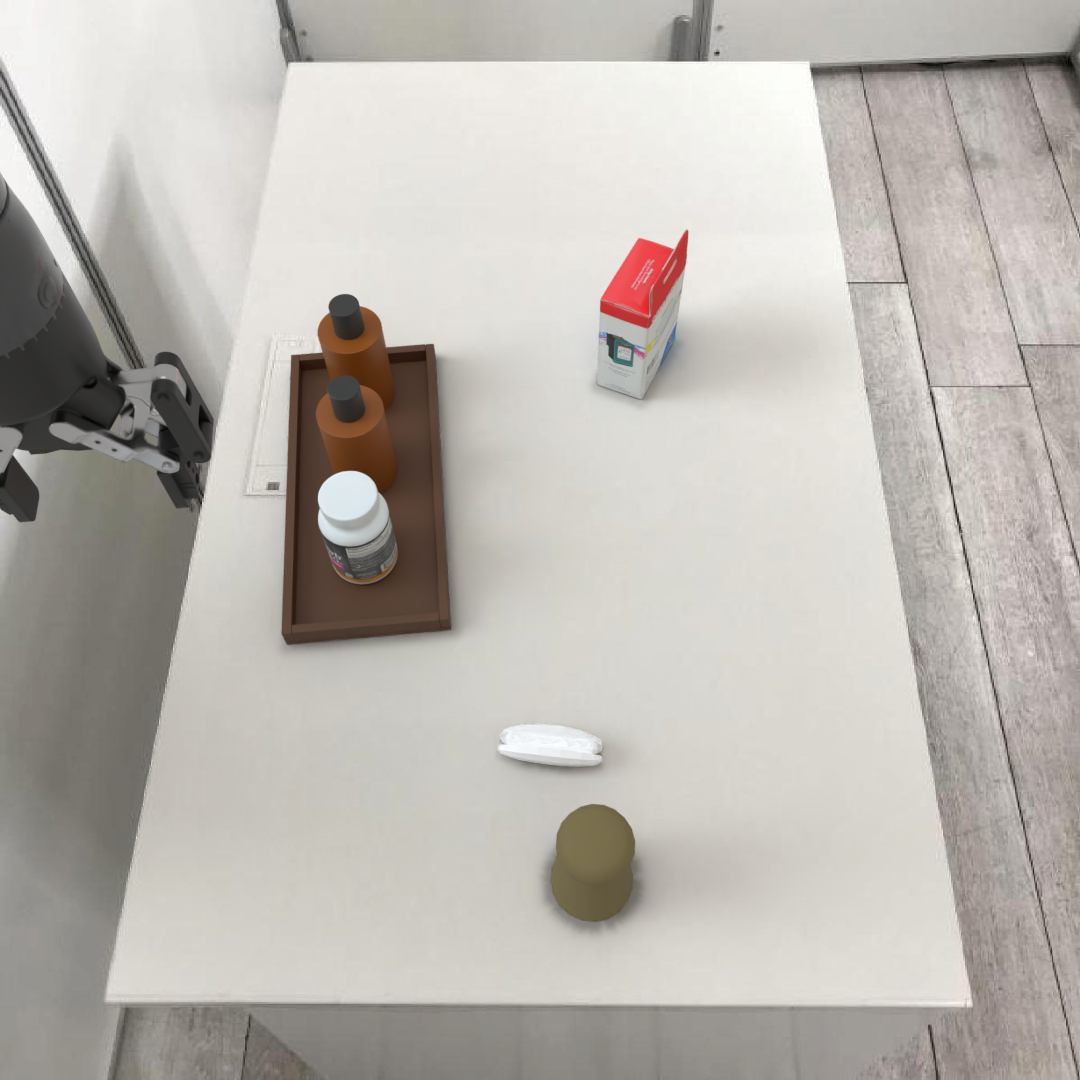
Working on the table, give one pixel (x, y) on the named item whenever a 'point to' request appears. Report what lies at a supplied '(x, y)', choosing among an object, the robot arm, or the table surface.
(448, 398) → the table surface
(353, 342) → the amber bottle far
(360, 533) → the pill bottle
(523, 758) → the sub sandwich
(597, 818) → the cork
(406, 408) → the tray
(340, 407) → the amber bottle near
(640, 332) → the ink box
